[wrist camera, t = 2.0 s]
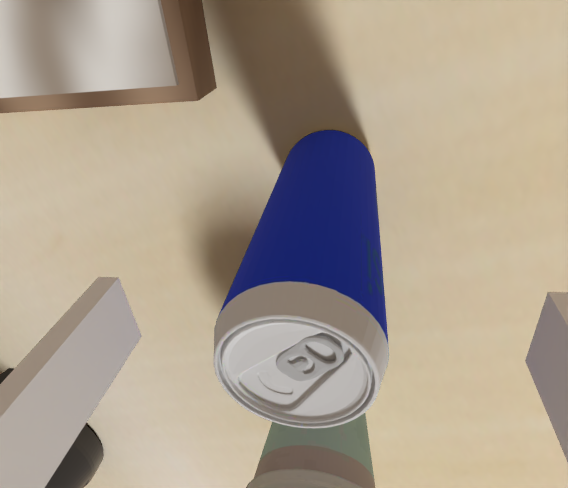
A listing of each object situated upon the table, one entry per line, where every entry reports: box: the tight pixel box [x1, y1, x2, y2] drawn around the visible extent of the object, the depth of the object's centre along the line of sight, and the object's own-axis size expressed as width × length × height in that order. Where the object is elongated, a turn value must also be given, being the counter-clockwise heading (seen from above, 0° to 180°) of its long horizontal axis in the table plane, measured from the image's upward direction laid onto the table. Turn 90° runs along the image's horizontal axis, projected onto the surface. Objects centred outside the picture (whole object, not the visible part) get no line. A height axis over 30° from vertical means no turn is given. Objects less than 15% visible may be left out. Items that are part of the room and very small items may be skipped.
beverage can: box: [214, 130, 389, 428], centre depth 17 cm, size 5×5×15 cm
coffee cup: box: [246, 413, 375, 488], centre depth 28 cm, size 8×9×12 cm
